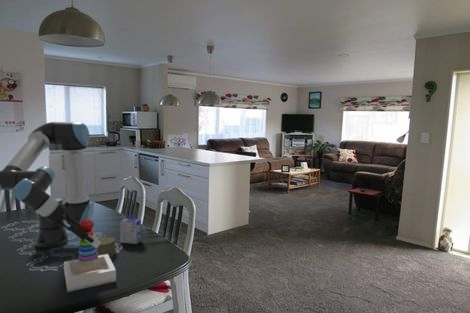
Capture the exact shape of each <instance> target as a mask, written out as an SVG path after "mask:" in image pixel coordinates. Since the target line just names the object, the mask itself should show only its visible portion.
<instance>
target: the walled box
mask: <svg viewBox="0 0 470 313" xmlns="http://www.w3.org/2000/svg"><path fill="white" fill-rule="evenodd" d="M110 257H111V256H110ZM110 257H109V255H108V254H105V255H99V256H98V258H99V260H98V262H96V263H95V264H92V265H87V266H83V265H80V264H79V263H78V259H79V258H78V259H73V260H67V261H63V275H64V279H65V281H64V282H65V287H66V292H67V293H70V292H75V291H79V290H85V289H87V288H92V287H96V286H101V285H105V284H106V285H107V284H110V283H115V282H117V270H116V267H115V266H114V264H113V262H112V259H111V258H110Z"/></svg>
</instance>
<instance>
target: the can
mask: <svg viewBox="0 0 470 313" xmlns="http://www.w3.org/2000/svg"><path fill="white" fill-rule="evenodd" d="M97 237H98V241H99V242H101V244H100V245H99V246H98V247H97V252H98V256H99V255H105V254H108V255H109V257H112V256H114V255H115V253H116V238H115V237H114V236H110V235H102V236H97Z"/></svg>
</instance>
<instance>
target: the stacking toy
mask: <svg viewBox="0 0 470 313" xmlns="http://www.w3.org/2000/svg"><path fill="white" fill-rule="evenodd" d="M93 227H94V222H93V221H92V219H91V220H90V219H84V220H83V221H82V222H81V223H80V228H81V229H82V230H84V231H85V232H86V233H88V234H90V235H91V236H93V237H94V238H95V236H94V235H95V234H94V229H93ZM93 234H94V235H93ZM79 239H80V241H79V246H78V248H79V250H78V263H79V264H80V265H83V266H87V265H92V264H95V263H96V262H98V260H99V258H98V252H97V248H95V247H94V246H92V245H91V244H89V243H88V242H87V241H85V240H84V241H82V239H81V238H79Z"/></svg>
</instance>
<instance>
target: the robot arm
mask: <svg viewBox="0 0 470 313" xmlns="http://www.w3.org/2000/svg"><path fill="white" fill-rule="evenodd" d="M89 131H90V130H89V129H88V127H87V125H86V124H85V123H84V122H76V121H71V122H70V121H52V122H47V123H44V124H41V125H40V126H38V127H37V128H35V129H34V130H32V132H31V133H29V135H28V137H27V141H26V142H25V143H24V144H23V146H22V147H21V148H20V149H19V150H17V152H16V154H15V155H14V156H13V157H12V158H11V160H10V161H9V162H8V163H7V164H6V165H5V167H4V168H3V169H2V170H0V190H1V191H5V190H6V191H8V190H9V191H10V190H11V191H10V193H11V195H12V197H14V198H16V199H17V200H18V201H20V202H21V203H22V204H24V205H26V206H27V207H28V208H30V209H32V210H33V211H35V212H36V213H35V214H36V215H38V233H37V235H36V240H35V246H36V247H38V248H42V249H44V248H46V249H47V248H55V247H60V246H62V245H65V244H67V243H68V242H69V235H68V232H67V231H66V229H67V230H68V231H70V232H71V233H73V235H75V236H77V237H78V238H79V239H80V238H81V239H82V241H84V240H85V241H87V242H88V243H89V244H91V245H92V246H94V247H95V248H97V247H98V246H99V245H100V244H101V242H99V241H98V237H99V236H97V235H96V234H94V233H93V235H94V236H95V238H94V237H93V236H91V235H90V234H88V233H86V232H85V231H84V230H82V229H81V228H80V223H81V222H82V221H83V220H84V219H90V220H91V221H92V218H93V215H94V211H95V202H94V201H92V200H90V196H89V195H87V188H86V186H87V185H86V176H85V174H86V170H85V157H84V152H85V150H86V149H87V146H89V145H90V142H91V141H90V139H91V138H90V132H89ZM50 146H60V150H61V151H62V152H63V153H64V159H65V162H64V163H65V172H66V173H65V174H66V186H67V197H66V198H65V201H64V198H62V197H57V198H54V197H53V196H52V195H50V194H49V193H47V190H48V188H50V186H51V185H52V183H53V181H54V179H55V177H56V175H55V174H56V173H55V172H54V170H53V169H52V168H50V167H48V166H40V167H37V168H36V169H35V170H29V169H30V168H31V167H32V165H34V163H35V161H36V160H37V158H38V157H39V156H40V155H41V154H42V152H44V150H46V149H48V148H49V147H50Z"/></svg>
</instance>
